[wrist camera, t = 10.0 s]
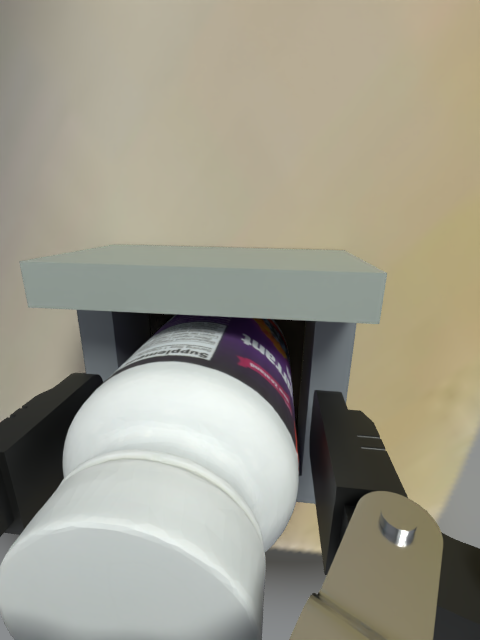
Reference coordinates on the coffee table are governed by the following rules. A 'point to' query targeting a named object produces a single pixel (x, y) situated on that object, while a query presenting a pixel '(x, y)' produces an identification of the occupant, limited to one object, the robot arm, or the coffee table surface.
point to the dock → (215, 304)
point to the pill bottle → (165, 494)
